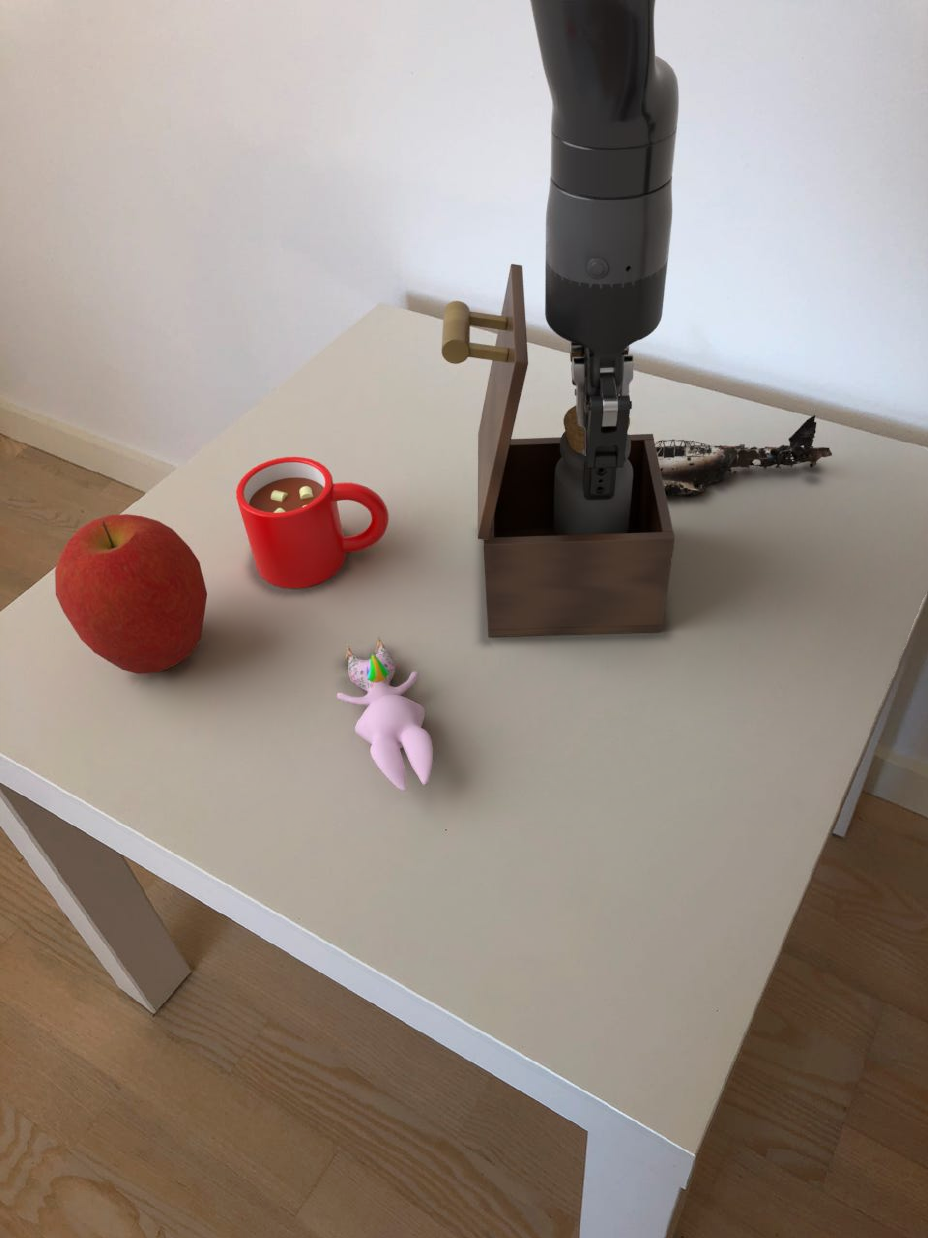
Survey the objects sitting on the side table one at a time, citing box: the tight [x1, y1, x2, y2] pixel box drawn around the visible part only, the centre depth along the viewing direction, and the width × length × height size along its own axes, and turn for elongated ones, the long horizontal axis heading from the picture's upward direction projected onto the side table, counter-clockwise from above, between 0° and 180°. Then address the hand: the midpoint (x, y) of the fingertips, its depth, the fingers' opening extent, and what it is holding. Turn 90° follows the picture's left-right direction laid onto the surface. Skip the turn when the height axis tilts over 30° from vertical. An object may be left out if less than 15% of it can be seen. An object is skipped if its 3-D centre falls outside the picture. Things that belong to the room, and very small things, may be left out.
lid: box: [441, 263, 529, 541], centre depth 66 cm, size 14×13×5 cm
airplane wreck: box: [655, 414, 833, 497], centre depth 85 cm, size 6×18×6 cm, turn 94°
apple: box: [54, 513, 208, 675], centre depth 70 cm, size 10×10×14 cm
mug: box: [235, 456, 390, 589], centre depth 80 cm, size 8×12×8 cm, turn 95°
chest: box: [482, 433, 676, 638], centre depth 75 cm, size 14×13×10 cm
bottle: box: [553, 402, 633, 536], centre depth 72 cm, size 6×6×15 cm
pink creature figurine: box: [336, 634, 434, 792], centre depth 67 cm, size 6×6×15 cm
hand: (594, 468), depth 70 cm, fingers closed on bottle, 5 cm apart
